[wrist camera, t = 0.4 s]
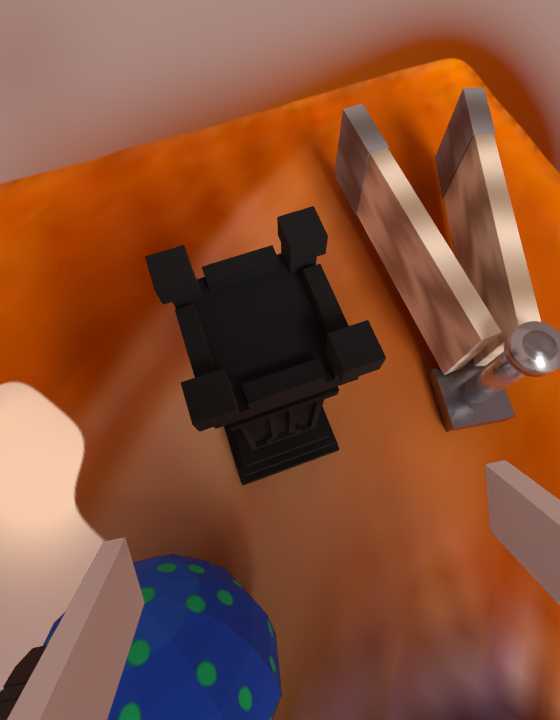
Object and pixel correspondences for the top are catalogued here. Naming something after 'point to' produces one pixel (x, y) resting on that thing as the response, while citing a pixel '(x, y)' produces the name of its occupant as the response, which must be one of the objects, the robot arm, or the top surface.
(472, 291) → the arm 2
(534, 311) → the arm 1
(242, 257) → the chess piece
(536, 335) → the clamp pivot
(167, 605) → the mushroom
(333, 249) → the top surface
